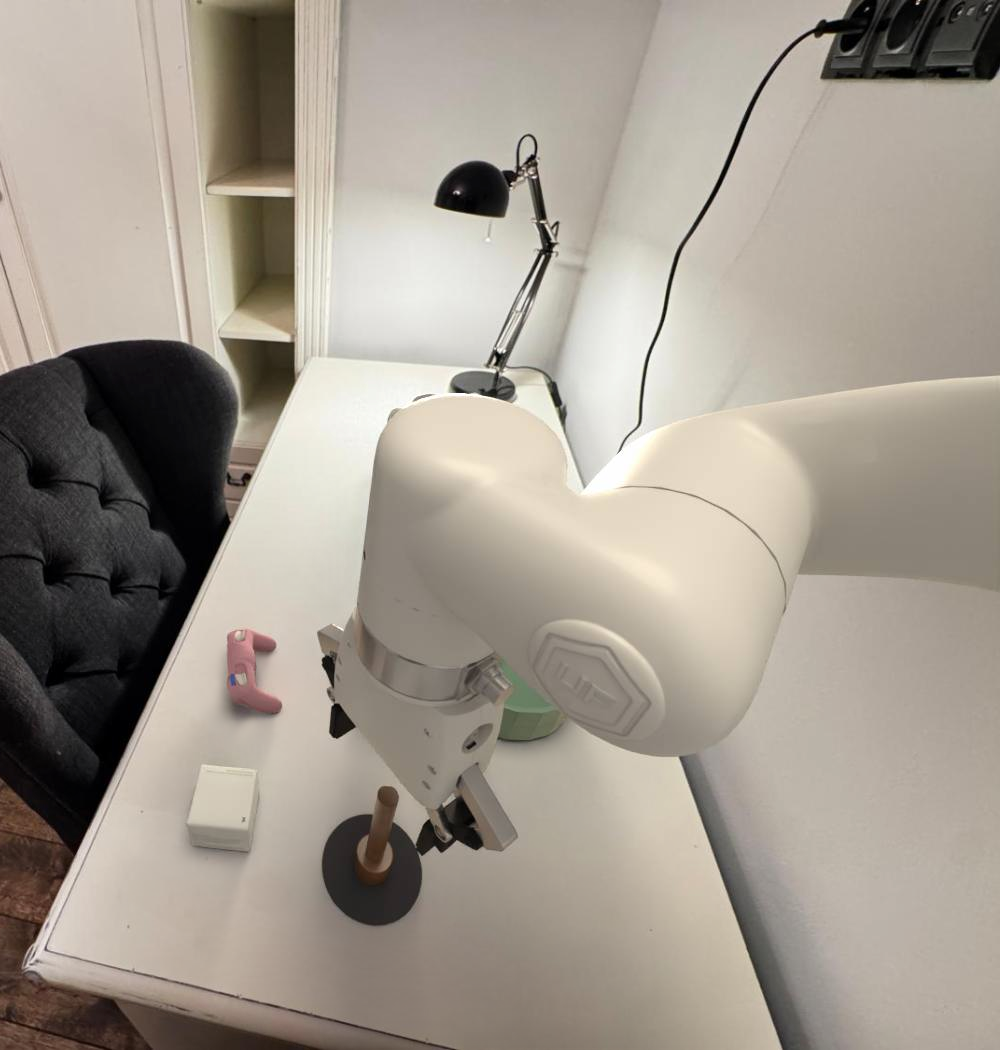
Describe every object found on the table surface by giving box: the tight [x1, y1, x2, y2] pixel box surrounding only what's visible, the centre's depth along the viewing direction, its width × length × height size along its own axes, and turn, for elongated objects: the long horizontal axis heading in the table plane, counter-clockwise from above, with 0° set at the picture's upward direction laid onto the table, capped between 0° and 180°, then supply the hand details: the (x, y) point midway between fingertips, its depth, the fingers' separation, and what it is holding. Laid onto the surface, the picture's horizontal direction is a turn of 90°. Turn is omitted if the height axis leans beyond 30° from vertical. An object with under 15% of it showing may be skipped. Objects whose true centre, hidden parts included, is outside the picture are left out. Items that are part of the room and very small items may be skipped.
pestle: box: [354, 784, 400, 885], centre depth 47 cm, size 3×3×14 cm
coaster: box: [321, 813, 423, 926], centre depth 52 cm, size 9×9×1 cm
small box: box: [185, 764, 260, 852], centre depth 53 cm, size 6×6×5 cm
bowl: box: [498, 658, 567, 741], centre depth 65 cm, size 15×15×6 cm
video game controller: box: [226, 628, 283, 714], centre depth 65 cm, size 10×5×7 cm, turn 6°
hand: (388, 779), depth 41 cm, fingers open, 9 cm apart
